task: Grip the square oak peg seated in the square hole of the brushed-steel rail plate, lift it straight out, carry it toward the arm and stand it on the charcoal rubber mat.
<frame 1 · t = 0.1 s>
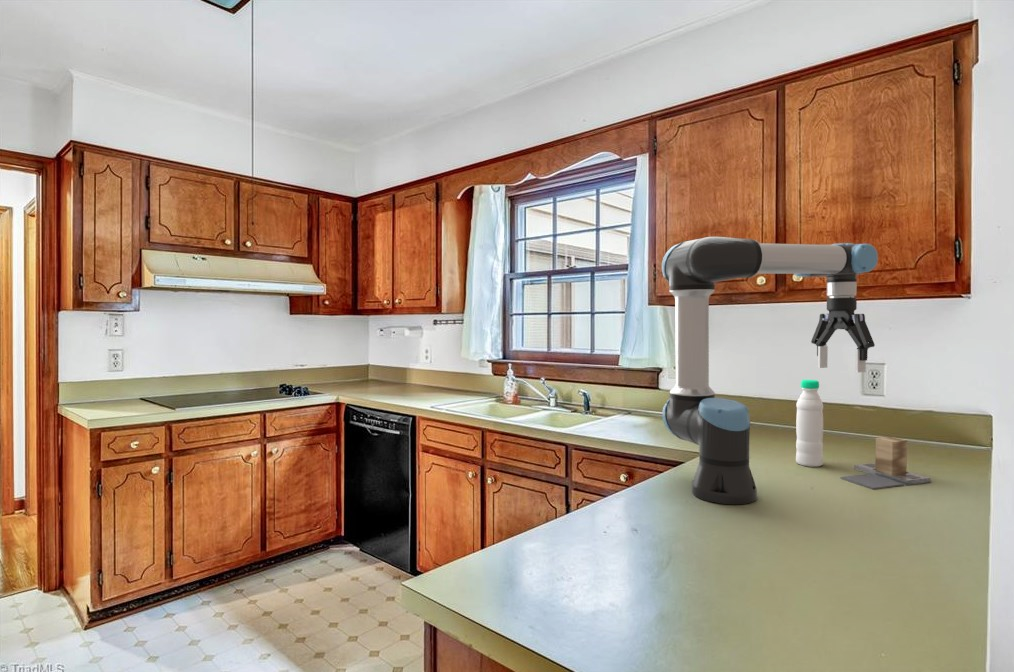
hand: (840, 369, 166), 28 cm above the counter, fingers open, 13 cm apart
mat: (871, 481, 150), on the counter
white bottle: (809, 464, 168), on the counter
peg: (890, 457, 155), in the rail
rail: (890, 475, 156), on the counter
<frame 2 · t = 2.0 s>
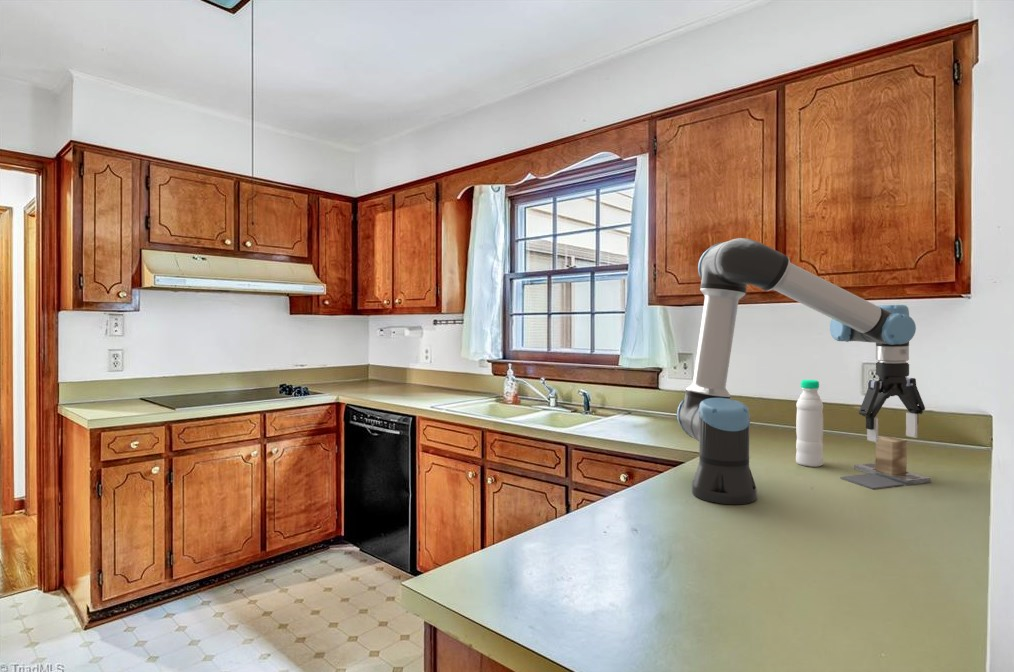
hand: (892, 439, 155), 10 cm above the counter, fingers open, 13 cm apart
nothing on the counter moved.
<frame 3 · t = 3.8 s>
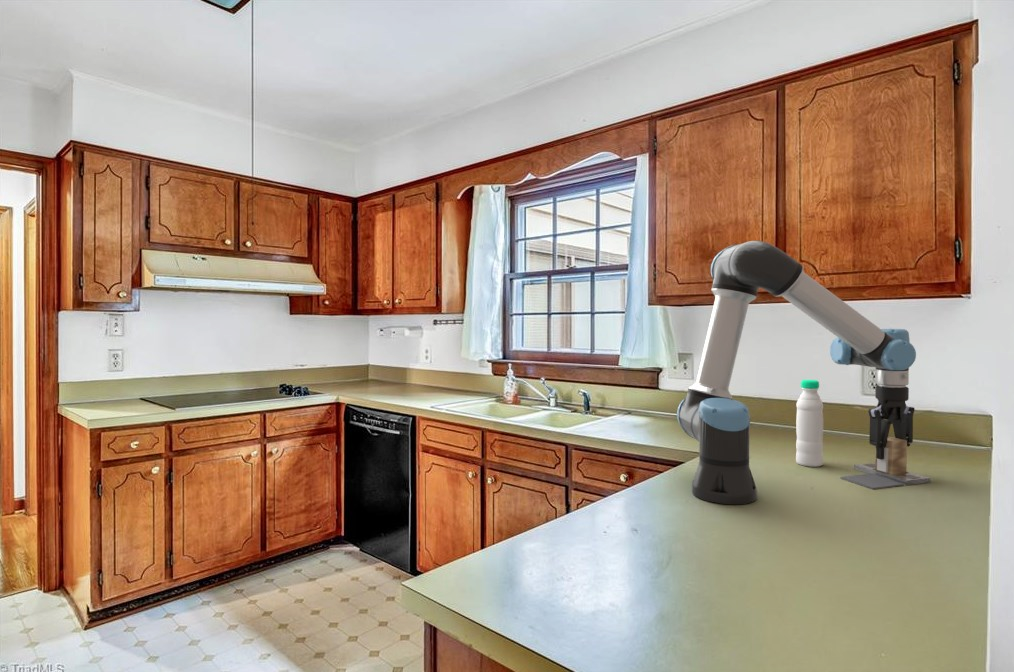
hand: (890, 469, 155), 2 cm above the counter, fingers closed on peg, 5 cm apart
peg: (890, 457, 155), in the rail, touching gripper
everything else where it was.
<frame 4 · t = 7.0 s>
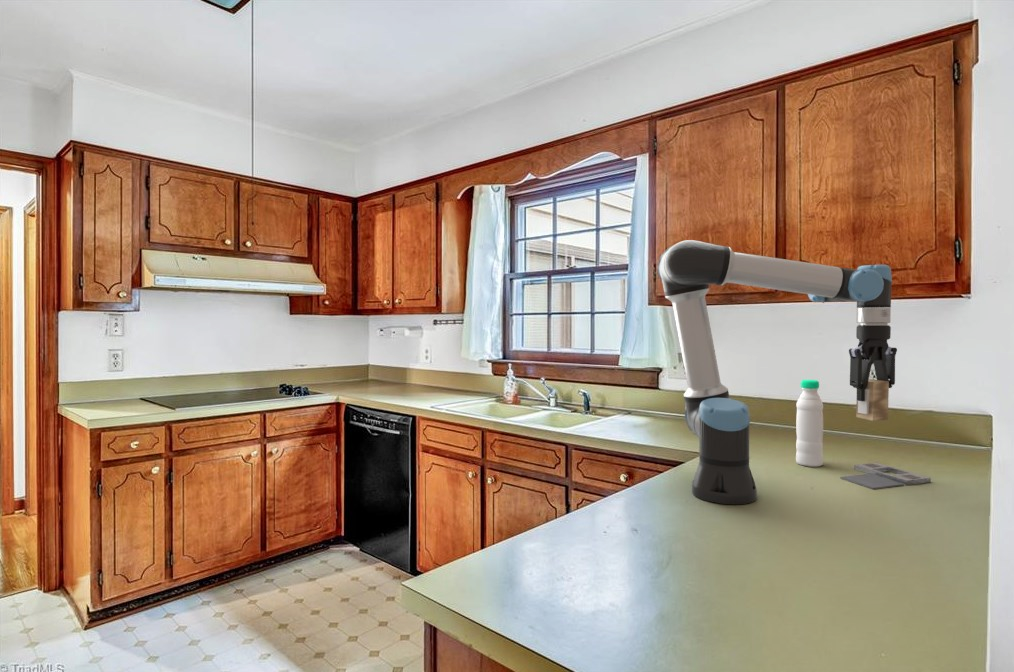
hand: (871, 412, 149), 18 cm above the counter, fingers closed on peg, 5 cm apart
peg: (872, 399, 149), point 22 cm above the counter, touching gripper
everything else where it was.
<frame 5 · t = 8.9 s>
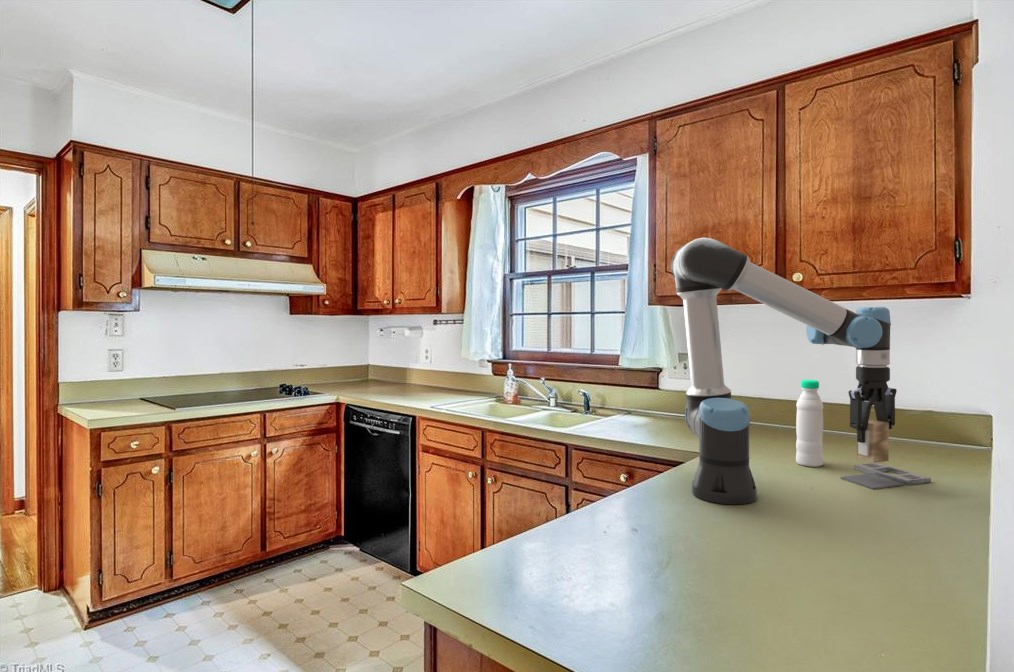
hand: (872, 453, 150), 8 cm above the counter, fingers closed on peg, 5 cm apart
peg: (872, 440, 150), point 11 cm above the counter, touching gripper
everything else where it was.
when the fingers open (3 cm above the counter, at t = 10.5 s): peg drops 1 cm, resting on mat.
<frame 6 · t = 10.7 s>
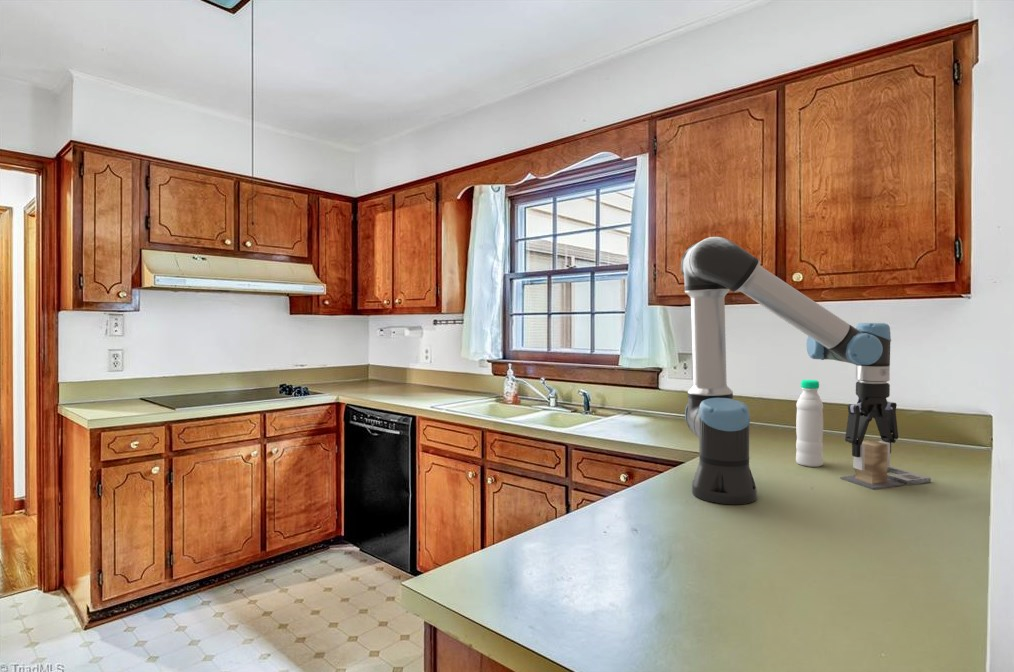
hand: (871, 467, 150), 4 cm above the counter, fingers open, 8 cm apart
peg: (871, 461, 150), on the mat
everything else where it was.
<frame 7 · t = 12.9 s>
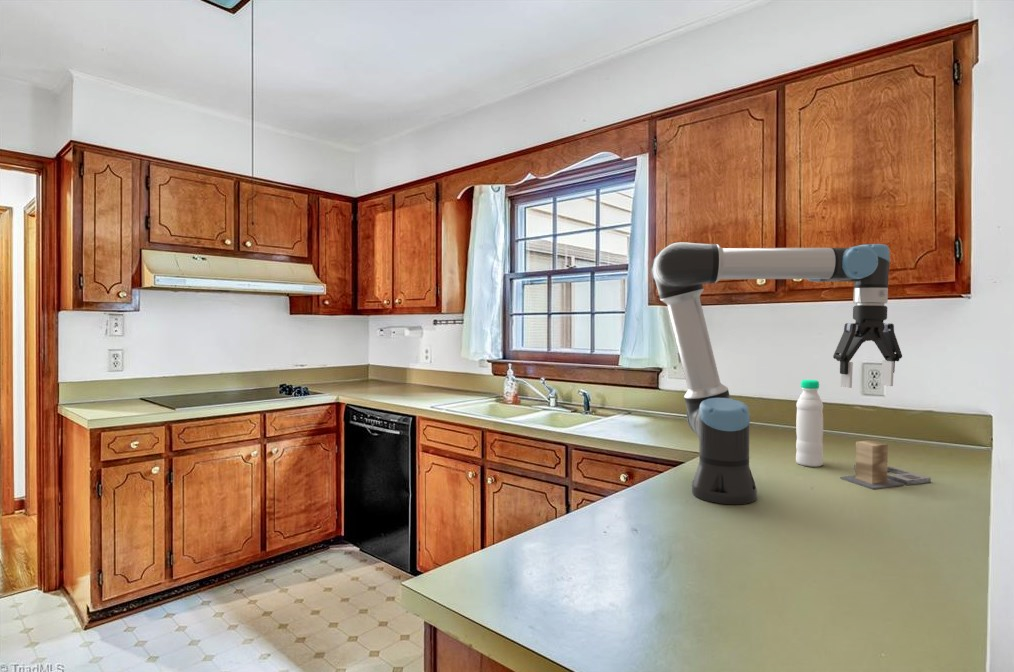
hand: (866, 386, 148), 26 cm above the counter, fingers open, 13 cm apart
nothing on the counter moved.
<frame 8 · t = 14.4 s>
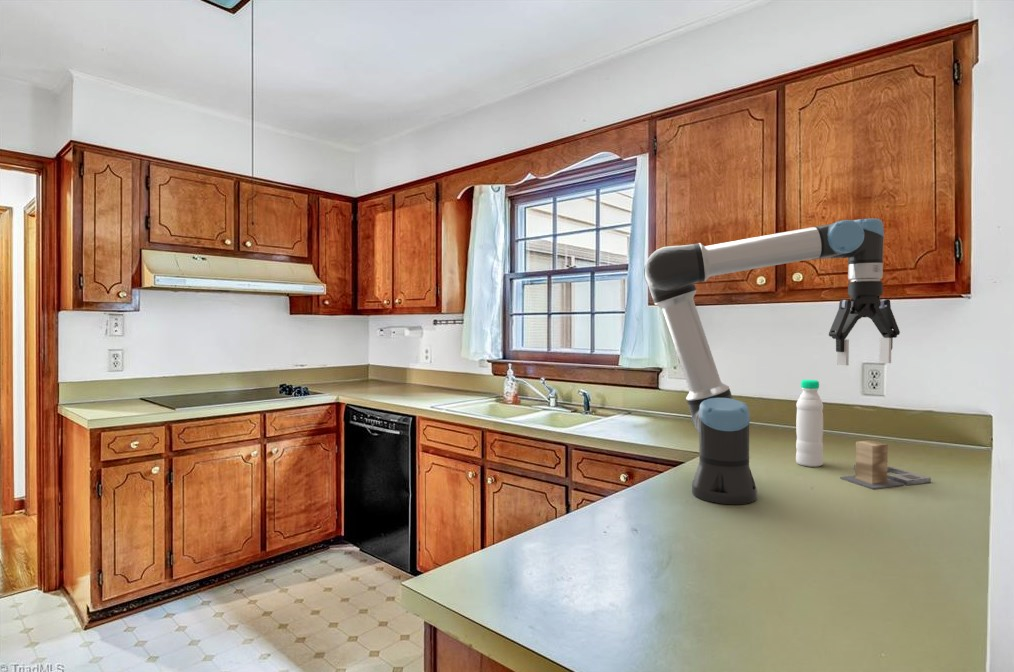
hand: (864, 364, 145), 32 cm above the counter, fingers open, 13 cm apart
nothing on the counter moved.
at the end: peg inside the target area on the mat (0.1 cm from its centre), point 5.4 cm above the mat's base; peg tilted 0°; peg touching mat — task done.
